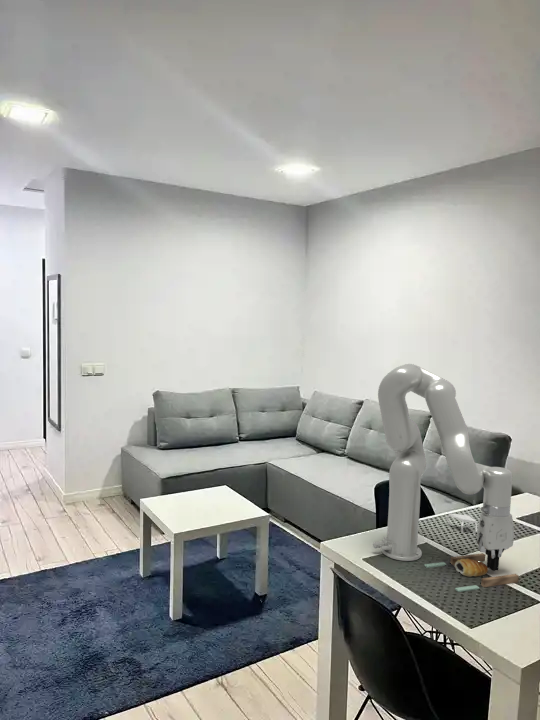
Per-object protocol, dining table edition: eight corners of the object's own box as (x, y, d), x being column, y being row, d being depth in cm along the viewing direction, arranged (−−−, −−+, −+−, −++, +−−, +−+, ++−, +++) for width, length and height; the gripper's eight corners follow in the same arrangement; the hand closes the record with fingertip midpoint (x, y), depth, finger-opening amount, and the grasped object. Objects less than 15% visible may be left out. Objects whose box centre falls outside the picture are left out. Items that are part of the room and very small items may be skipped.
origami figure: (480, 529, 203) (481, 516, 203) (476, 537, 196) (477, 523, 195) (446, 522, 209) (447, 509, 209) (441, 529, 202) (442, 516, 201)
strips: (458, 592, 156) (458, 590, 156) (424, 565, 172) (424, 564, 172) (479, 589, 158) (479, 587, 158) (443, 563, 174) (443, 562, 174)
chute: (483, 587, 159) (484, 580, 159) (450, 563, 174) (450, 557, 174) (518, 582, 163) (518, 575, 163) (482, 559, 178) (483, 553, 178)
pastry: (479, 566, 173) (480, 554, 173) (493, 576, 167) (494, 564, 166) (452, 568, 171) (453, 556, 170) (464, 579, 164) (465, 566, 164)
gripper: (484, 516, 162) (480, 577, 163) (525, 511, 167) (521, 571, 168) (467, 507, 169) (463, 566, 170) (507, 503, 174) (503, 560, 175)
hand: (492, 568), depth 169 cm, fingers closed
